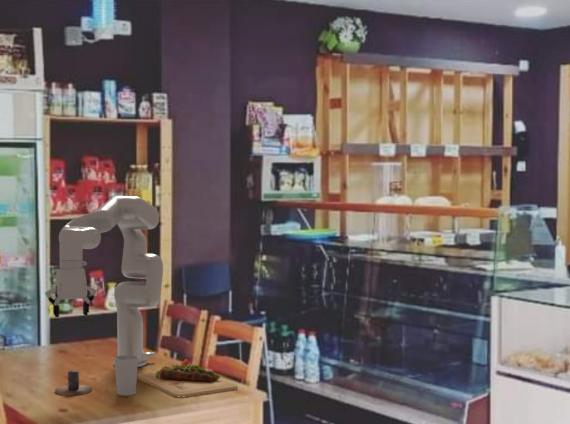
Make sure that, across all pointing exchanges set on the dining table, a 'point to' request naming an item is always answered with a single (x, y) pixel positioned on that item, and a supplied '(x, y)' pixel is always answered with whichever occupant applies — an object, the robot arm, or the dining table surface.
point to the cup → (126, 374)
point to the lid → (73, 386)
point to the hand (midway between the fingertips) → (71, 315)
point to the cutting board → (186, 380)
